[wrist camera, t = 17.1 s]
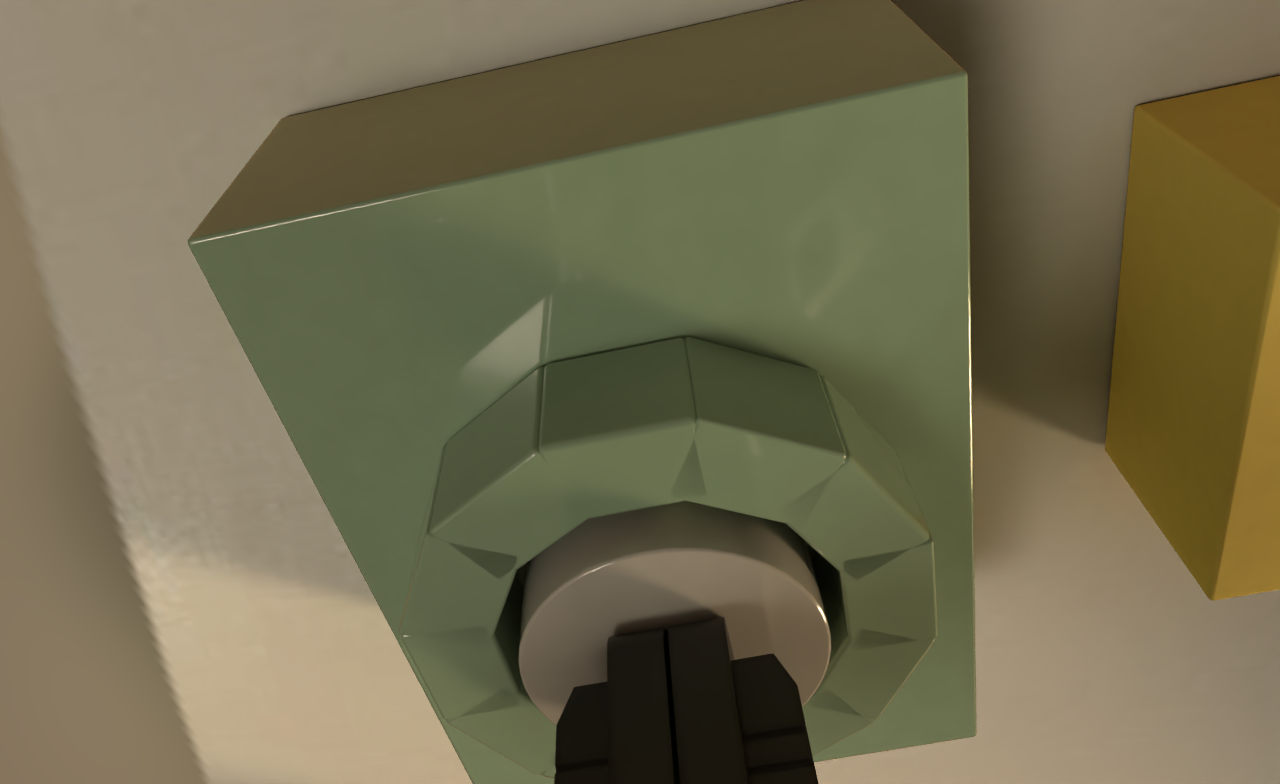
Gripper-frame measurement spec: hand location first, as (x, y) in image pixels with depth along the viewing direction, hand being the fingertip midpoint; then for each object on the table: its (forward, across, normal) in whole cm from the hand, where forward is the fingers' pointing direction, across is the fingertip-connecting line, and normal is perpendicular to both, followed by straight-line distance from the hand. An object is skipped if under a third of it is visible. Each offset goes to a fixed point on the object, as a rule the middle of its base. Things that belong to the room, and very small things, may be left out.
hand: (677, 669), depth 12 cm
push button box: (+6, 0, 0) cm, 6 cm away
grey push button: (+2, 0, 0) cm, 2 cm away
